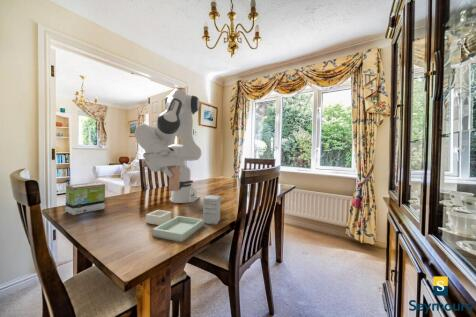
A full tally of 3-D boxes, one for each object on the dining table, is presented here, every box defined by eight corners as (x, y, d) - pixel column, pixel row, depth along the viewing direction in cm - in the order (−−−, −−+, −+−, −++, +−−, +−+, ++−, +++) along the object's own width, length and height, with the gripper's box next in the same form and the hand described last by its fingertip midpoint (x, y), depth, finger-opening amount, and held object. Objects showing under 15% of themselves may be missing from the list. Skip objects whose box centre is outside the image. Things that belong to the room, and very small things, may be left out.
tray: (178, 221, 99) (178, 215, 99) (203, 225, 95) (203, 219, 95) (152, 236, 82) (152, 229, 82) (182, 242, 78) (182, 234, 78)
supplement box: (206, 218, 105) (207, 194, 105) (220, 219, 104) (221, 195, 104) (202, 223, 98) (203, 197, 98) (216, 224, 97) (217, 199, 97)
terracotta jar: (173, 188, 92) (173, 167, 92) (181, 189, 91) (182, 167, 91) (167, 190, 88) (167, 167, 88) (175, 191, 87) (176, 168, 86)
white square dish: (157, 217, 104) (157, 209, 104) (171, 219, 102) (171, 211, 101) (145, 222, 96) (145, 214, 96) (160, 225, 94) (160, 216, 93)
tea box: (73, 215, 102) (74, 187, 101) (65, 212, 107) (65, 184, 106) (105, 208, 115) (105, 183, 114) (96, 205, 120) (96, 181, 119)
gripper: (145, 147, 81) (165, 173, 78) (176, 149, 101) (192, 169, 98) (136, 158, 83) (155, 183, 80) (168, 157, 102) (184, 178, 99)
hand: (176, 175), depth 89 cm, fingers closed on terracotta jar, 4 cm apart
